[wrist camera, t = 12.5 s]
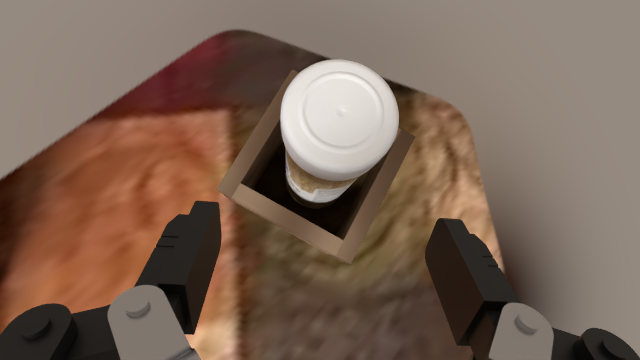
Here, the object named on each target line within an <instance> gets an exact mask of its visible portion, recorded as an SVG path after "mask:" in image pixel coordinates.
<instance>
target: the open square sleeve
mask: <svg viewBox="0 0 640 360" xmlns="http://www.w3.org/2000/svg"><path fill="white" fill-rule="evenodd" d="M298 74H299V73H298V72H296V71H295V70H293V69H292V71H291V72H290V74H289V75H288V77H287V78H286V80H285V82H284V83H283V85H282V86H281V88H280V90H279V91H278V93H277V94H276V96H275V98H274V99H273V101H272V102H271V104H270V105H269V107H268V109H267V110H266V112H265V113H264V115H263V117H262V118H261V120H260V121H259V123H258V125H257V126H256V128H255V129H254V131H253V132H252V134H251V136H250V137H249V139H248V140H247V142H246V144H245V145H244V147H243V148H242V150H241V152H240V153H239V155H238V156H237V158H236V159H235V161H234V163H233V164H232V166H231V167H230V169H229V171H228V172H227V174H226V175H225V177H224V178H223V180H222V182H221V183H220V185H219V186H218V188H217V190H218V191H219V192H221V193H222V194H223V195H225V196H226V197H227V198H229V199H230V200H231V201H233V202H235V203H237V204H239V205H240V206H242V207H244V208H246V209H248V210H249V211H251V212H253V213H255V214H257V215H258V216H260V217H262V218H264V219H266V220H267V221H269V222H271V223H273V224H274V225H276V226H278V227H280V228H282V229H283V230H285V231H287V232H289V233H291V234H292V235H294V236H296V237H298V238H300V239H301V240H303V241H305V242H307V243H308V244H310V245H312V246H314V247H316V248H317V249H319V250H321V251H323V252H325V253H326V254H328V255H330V256H332V257H334V258H335V259H337V260H339V261H342V262H345V263H349V264H351V262H352V261H353V259H354V257H355V255H356V253H357V251H358V249H359V247H360V245H361V243H362V241H363V239H364V237H365V235H366V233H367V231H368V229H369V227H370V225H371V223H372V221H373V219H374V217H375V215H376V213H377V211H378V209H379V207H380V205H381V203H382V201H383V199H384V197H385V195H386V193H387V191H388V189H389V187H390V185H391V183H392V182H393V180H394V178H395V176H396V174H397V172H398V170H399V168H400V166H401V164H402V162H403V160H404V158H405V156H406V154H407V152H408V150H409V148H410V146H411V144H412V142H413V140H414V138H415V136H413V135H411V134H409V133H408V132H406V131H404V130H402V129H400V128H399V127H398V131H397V135H396V137H395V139H394V142H393V144H392V146H391V147H390V149H389V150H388V152H387V153H386V154H385V155H384V156H383V157H382V158H381V159H380V161H379V162H378V163H377V164H376V165H375V166H374V167H373V168H372V169H371V170H370V172H369V174H368V176H367V178H366V180H365V182H364V184H363V186H362V188H361V189H360V191H359V193H358V195H357V197H356V199H355V201H354V203H353V205H352V207H351V208H350V210H349V212H348V214H347V216H346V218H345V220H344V222H343V224H342V226H341V227H340V229H339V231H338V233H337V235H336V236H335V235H333V234H331V233H329V232H327V231H326V230H324V229H322V228H320V227H318V226H317V225H315V224H313V223H311V222H309V221H308V220H306V219H304V218H302V217H300V216H299V215H297V214H295V213H293V212H291V211H290V210H288V209H286V208H284V207H282V206H281V205H279V204H277V203H275V202H273V201H272V200H270V199H268V198H266V197H265V196H263V195H261V194H259V193H257V192H256V191H254V188H255V187H256V185H257V183H258V182H259V180H260V178H261V177H262V175H263V173H264V172H265V170H266V168H267V167H268V165H269V163H270V162H271V160H272V158H273V157H274V155H275V154H276V152H277V150H278V149H279V147H280V145H281V144H282V142H283V138H282V133H281V122H280V114H281V104H282V100H283V97H284V94H285V92H286V89H287V88H288V86H289V85H290V83H291V82H292V81H293V79H294V78H295V77H296V76H297V75H298Z"/></svg>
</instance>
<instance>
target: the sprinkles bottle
mask: <svg viewBox="0 0 640 360" xmlns="http://www.w3.org/2000/svg"><path fill="white" fill-rule="evenodd" d="M280 122H281V133H282V138H283V142H284V145H285V148H286V186H287V189H288V192H289V193H290V195H291V196H292V198H293V199H294V200H295V201H296V202H297V203H299V204H301V205H302V206H305V207H308V208H315V209H321V208H323V207H327V206H329V205H331V204H333V203H334V202H335V201H336V200H337V199H338V198H339V197H340V195H341V194H342V193H343V192H344V191H345V190H346V189H348V188H349V187H350V186H351V184H352V183H353V182H354V181H355V180H356V179H357V178H358V177H359V176H361V175H363V174H364V173H366V172H367V171H369V170H370V169H371V168H373V167H374V166H375V165H376V164H377V163H378V162H379V161H380V159H381V158H382V157H383V156H384V155H385V154H386V153H387V152H388V150H389V149H390V147H391V146H392V144H393V142H394V139H395V137H396V135H397V131H398V125H399V111H398V106H397V102H396V99H395V97H394V95H393V92H392V90H391V89H390V87H389V86H388V84H387V83H386V82H385V81H384V79H383V78H382V77H381V76H380V75H378V74H377V73H376V72H375V71H373V70H372V69H370V68H368V67H367V66H365V65H362V64H360V63H357V62H354V61H349V60H343V59H332V60H325V61H321V62H318V63H315V64H313V65H311V66H309V67H307V68H306V69H304V70H303V71H301V72H300V73H299V74H298V75H297V76H296V77H295V78H294V79H293V81H292V82H291V83H290V85H289V86H288V88H287V89H286V92H285V94H284V97H283V100H282V104H281V114H280Z"/></svg>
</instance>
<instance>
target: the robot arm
mask: <svg viewBox="0 0 640 360" xmlns="http://www.w3.org/2000/svg"><path fill="white" fill-rule="evenodd" d="M220 246H221V222H220V209H219V203H218V202H208V201H196V202H195V203H194V205H193V207H192V209H191V211H190V214H189V215H183V214H179V215H177V216H176V217H175V218H174V219H173V220H171V221H170V222H169V223H168V224H167V226H166V227H165V229H164V231H163V233H162V235H161V238H160V239H159V241H158V243H157V245H156V248H154V250H153V252H152V254H151V256H150V258H149V260H148V262H147V264H146V265H145V267H144V269H143V271H142V273H141V275H140V277H139V279H138V281H137V283H136V284H135V286H134V287H133V288H130V289H128V290H126V291H125V292H123V293H121V294H120V295H119V296H118V297H117V298H116V299H115V300H114V301H113V302H112V304H110V305H107V306H104V307H100V308H96V309H91V310H87V311H82V312H78V313H73V314H71V312H70V311H69V309H68V308H67V307H66V306H63V305H61V304H44V305H40V306H37V307H34V308H32V309H29V310H28V311H26V312H24V313H22V314H21V315H19V316H18V317H16V318H15V319H14V320H13V321H12V322H11V323H10V324H9V325H8V326H7V327H6V328H5V329H4V331H3V332H2V333H1V335H0V360H201V359H200V357H199V355H198V354H197V352H196V350H195V349H194V348H193V349H192V348H191V347H190V345H189V343H188V341H187V339H186V337H185V335H184V334H192V335H194V333H195V330H196V327H197V323H198V320H199V317H200V313H201V310H202V307H203V304H204V300H205V297H206V294H207V290H208V287H209V284H210V281H211V277H212V274H213V271H214V267H215V264H216V261H217V258H218V254H219V251H220ZM492 257H493V256H492V254H491V253H490V251H489V249H488V248H487V246H486V244H484V243H483V242H482V241H481V240H480V239H479V238H478V237H477V236H476V235H475V234H470V233H469V232H468V230H467V228H466V226H465V225H464V223H463V221H462V220H460V219H447V218H439V219H438V220H437V222H436V224H435V226H434V229H433V232H432V234H431V237H430V239H429V242H428V244H427V247H426V251H425V259H426V264H427V267H428V269H429V272H430V275H431V277H432V280H433V283H434V285H435V288H436V291H437V294H438V296H439V299H440V302H441V304H442V307H443V310H444V312H445V315H446V318H447V320H448V323H449V326H450V328H451V331H452V334H453V336H454V339H455V342H456V344H457V346H470V347H471V349H472V352H473V354H472V355H471V357H470V359H469V360H640V358H639V356H638V355H637V354H636V353H635V351H634V350H633V349H632V348H631V347H630V346H629V345H628V344H627V343H626V342H624V341H623V340H622V339H620V338H619V337H617V336H616V335H614V334H612V333H610V332H608V331H606V330H602V329H598V328H590V329H587V330H586V331H585V332H584V333H583V334H582V335H581V336H576V335H573V334H570V333H567V332H564V331H561V330H558V329H555V328H552V327H551V326H550V324H549V323H548V322H547V320H546V319H545V318H544V317H543V316H542V315H541V314H539V313H538V312H537V311H536V310H534V309H532V308H531V307H529V306H526V305H524V304H521V303H520V301H519V300H518V298H517V296H516V294H515V293H514V291H513V289H512V288H511V286H510V284H509V283H508V281H507V279H506V278H505V276H504V274H503V273H502V271H501V269H500V268H498V264H497V263H496V261H495V259H494V258H492Z"/></svg>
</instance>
